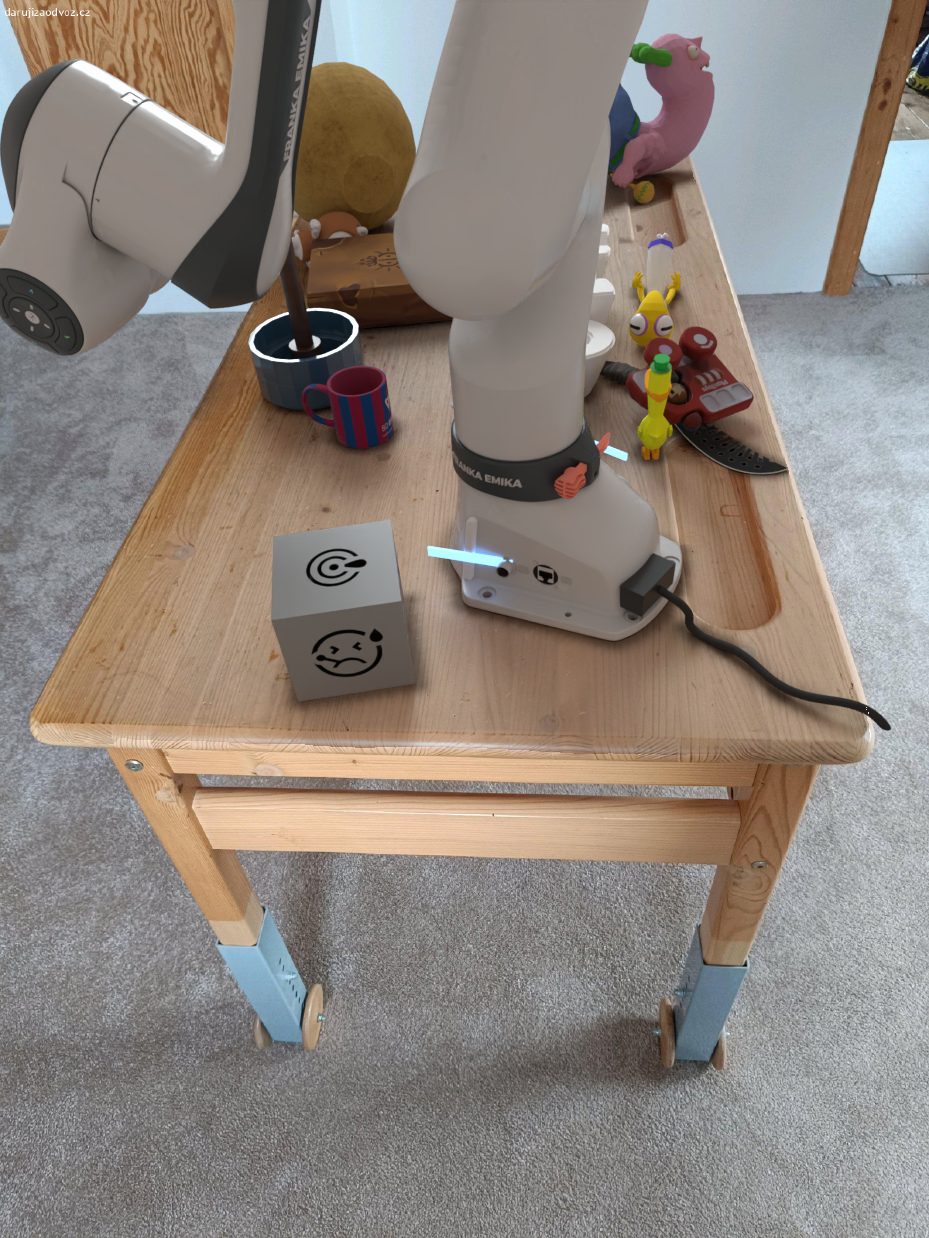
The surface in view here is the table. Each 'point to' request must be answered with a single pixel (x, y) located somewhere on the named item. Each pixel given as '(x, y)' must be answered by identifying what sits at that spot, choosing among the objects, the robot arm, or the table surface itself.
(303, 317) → the cylinder
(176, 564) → the table surface
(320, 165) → the tan rounded lump
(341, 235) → the figurine
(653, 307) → the character
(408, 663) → the icon cube
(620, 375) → the knife
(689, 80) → the toy
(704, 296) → the table surface
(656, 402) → the toy figure
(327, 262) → the carved wooden box
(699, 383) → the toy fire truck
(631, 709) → the table surface
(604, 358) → the wavy white extrusion
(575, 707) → the table surface
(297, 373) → the bowl
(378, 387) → the cup
